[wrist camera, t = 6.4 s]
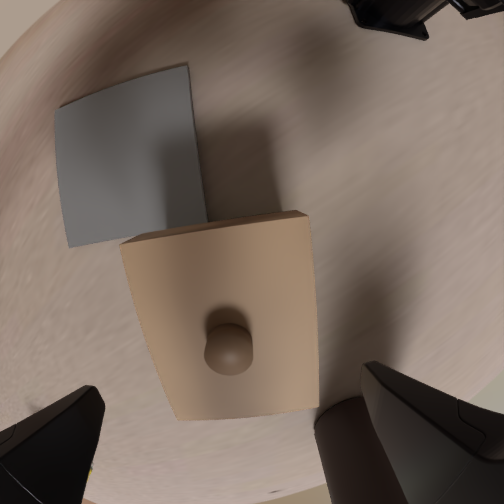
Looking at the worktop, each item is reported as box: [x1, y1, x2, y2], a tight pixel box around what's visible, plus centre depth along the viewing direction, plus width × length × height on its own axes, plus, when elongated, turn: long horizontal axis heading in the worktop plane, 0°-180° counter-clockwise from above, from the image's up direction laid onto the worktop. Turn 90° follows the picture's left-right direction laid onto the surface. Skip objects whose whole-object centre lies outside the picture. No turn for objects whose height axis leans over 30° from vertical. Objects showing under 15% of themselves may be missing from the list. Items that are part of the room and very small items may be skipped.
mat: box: [55, 65, 208, 248], centre depth 15 cm, size 10×10×1 cm
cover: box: [119, 210, 319, 420], centre depth 11 cm, size 7×9×4 cm
